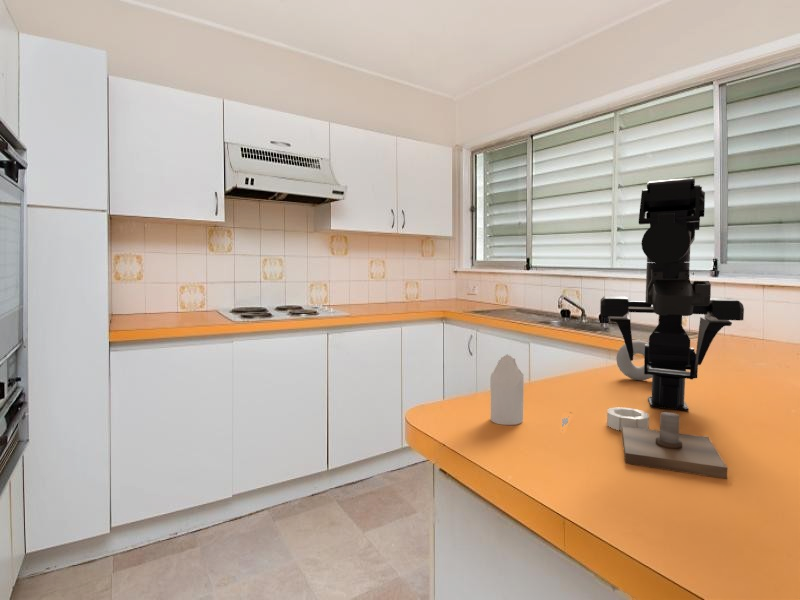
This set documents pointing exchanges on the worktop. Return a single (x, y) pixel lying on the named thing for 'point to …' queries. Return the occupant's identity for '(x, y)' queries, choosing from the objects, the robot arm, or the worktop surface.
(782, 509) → the worktop surface
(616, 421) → the ring
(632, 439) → the peg stand
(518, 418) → the grey bullet shape
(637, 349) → the donut
